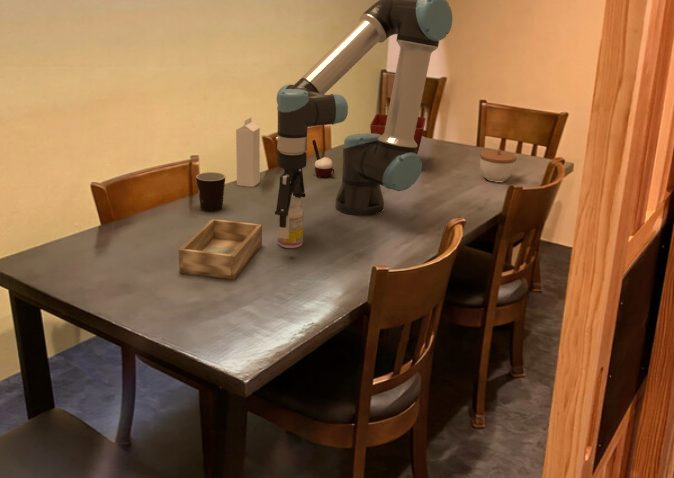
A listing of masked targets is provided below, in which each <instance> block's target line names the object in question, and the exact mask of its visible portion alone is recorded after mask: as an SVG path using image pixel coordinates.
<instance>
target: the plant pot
mask: <svg viewBox="0 0 674 478" xmlns="http://www.w3.org/2000/svg"><path fill="white" fill-rule="evenodd" d="M387 116H388V114H382V113H379V114H378V113H376V114H375V115H374V117H373V119H372V120H371V123H370V124H369V126H370V127H369V128H370V133H372V134H380V135H383V134H384V131H385V126H386V121H387ZM426 119H427V118H426V117H425V116H424V117H423V116H418V120H417V125H416V130H415V135H414V141H415V142H416V143H417V145H418V147H417V152H416V154H417V155H418V153H419V150H420V146H421V143H422V142H421V141H422V138H423V134H424V130H425V125H426V124H425V123H426Z"/></svg>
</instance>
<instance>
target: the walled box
mask: <svg viewBox="0 0 674 478" xmlns="http://www.w3.org/2000/svg"><path fill="white" fill-rule="evenodd" d="M261 247H263V224H260V223H254V222H253V223H251V222H243V221H242V222H241V221H233V220H225V219H216V218H211V219H210V220H209V221H208V222H206V224H204V225H203V226H202V227H201V228H200V229H199V230H198V231H197V232H196V233H195V234H194V235H193V236H192V237H190V238H189V239H188V240H187V241H186V242H185V243H184V244H183V245H182V246H181V247H179V249H178V266H179V267H178V268H179V273H181V274H187V275H194V276H204V277H211V278H218V279H219V278H220V279H226V280H234V281H235V280H236V279H237V278H238V276H239V275H240V274H241V273H242V272H243V270H244V269H245V268H246V266H247V265H248V264H249V262H251V260H252V259H253V257H254V256H255V255H256V254H257V253H258V251H259V249H261Z"/></svg>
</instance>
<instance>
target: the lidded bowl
mask: <svg viewBox="0 0 674 478" xmlns="http://www.w3.org/2000/svg"><path fill="white" fill-rule="evenodd" d="M516 161H517V156H516V154H513V153H512V152H508V151H504V150H503V151H502V149H497V150H484V151H482V152H480V155H479V170H480V173H481V175H482V176H483V177H484V179H485V178H486V179H489V180H493V181H504V180H505V181H506V180H507V179H509V178H511V176H512V175H513V172H514V170H515V167H516ZM486 179H485V180H486Z"/></svg>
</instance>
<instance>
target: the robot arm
mask: <svg viewBox="0 0 674 478" xmlns="http://www.w3.org/2000/svg"><path fill="white" fill-rule="evenodd" d="M452 26H453V11H452V8H451V6H450V4H449V2H448V1H447V0H377V1H376V2H375V3H373V4H372V5H371V6H370V7H369V8H368V9H367V10H366V11H364V12H363V13H362V14H361V15H360V17H359V22H358V23H357V24H356V25H355V26H354V27H353V28H352V29H351V30H350V31H349V32H348V33H347V34H346V35H345V36H344V37H342V39H341V40H339V41H338V42H337V43H336V44H335V45H334V46H333V47H332V48H331V49H330V50H329V51H328V52H327V53H326V54H325V55H324V56H323V57H322V58H321V59H319V61H317V63H316V64H314V65H313V66H312V67H311V68H310V69H309V70H308V71H307V72H306V73H305V74H304V75H303V76H302V77H301V78H300V79H299V80H297V82H295V84H286V85H283V86H281V87H280V89H278V92H277V95H276V103H277V106H276V107H277V109H276V110H277V136H276V137H275V141H277V146H276V147H277V150H278V151H277V153H276V165H277V167H279V168H280V169H283V170H284V171H283V173H282V175H280V176H279V187H278V195H277V200H276V201H277V202H276V209H275V211H274V215H276V216H278V217H277V218H278V221H277V239H278V238H284V239H288V238H289V214H288V212H289V207H290V202H291V197H297V198H299V199H300V205H299V207H300V208H302V209H303V198H306V193H305V185H304V184H305V183H304V174H303V173H304V172H303V169H304V168H306V167H307V150H308V129H309V128H311V127H318V126H328V125H333V126H334V125H336V124H339V123H342V122H345V120H346V119H347V117H348V113H349V105H348V101H347V100H346V98H345V97H344V96H343V94H340V93H339V94H334V93H330V94H327V92H328V91H329V90H330V89H332V88H333V87H334V86H335V84H337V82H338V81H339V80H340V79H342V78H343V77H344V76H345V75H346V74H347V73H348V72H349V71H350V70H351V69H352V68H353V67H354V66H355V65H356V64H357V63H358V62H359V61H361V59H362V58H363V57H364V56H366V55H367V53H369V52H370V51H371V50H372V49H373V48H374V47H375V46H376V45H377V44H378V43H381V44H382V43H383V42H385V41H386V40H387V39H389V37H391V36H393V35H396V40H395V41H396V43H397V44H398V46H399V55H398V59H397V64H396V70H395V75H394V80H393V86H392V89H391V90H392V91H391V96H390V101H389V107H388V111H387V115H388V116H387V121H386V126H385V131H384V134H383V135H380V134H372V133H371V132H370V133H353V134H350V135H347V136H345V138H344V140H343V147H342V170H341V171H342V177H341V184H340V187H339V190H338V192H337V195H336V197H335V209H336V210H338V211H339V212H341V213H343V214H344V213H345V214H347V215H353V216H372V214H373V215H377V214H380V213H382V212H383V211H384V210H383V209H385V207H384V206H385V201H384V195H383V193H382V189H381V186H383V187H384V188H386V189H388V190H394V191H396V192H401V191H407V190H408V189H410V188H411V187H412V186H413V185H414V184H415V183H416V182H417V181H418V179H419V178H420V175H421V173H422V170H423V169H422V168H423V163H422V161H421V157H420V156H419V155H418V154H416V152H417V147H418V145H417V143H416V142H415V141H414V135H415V130H416V125H417V120H418V117H419V115H420V111H421V110H420V109H421V105H422V100H423V95H424V91H425V85H426V80H427V75H428V71H429V66H430V61H431V60H430V59H431V55H432V53H433V52H435V51H436V50H438V49H439V46H440V45H439V44H440V41H441V40H443V39H445V38H446V37H447V35H449V34H450V31H451V30H452ZM283 210H284V211H283ZM382 210H383V211H382ZM381 211H382V212H381ZM379 212H380V213H379ZM376 213H377V214H376Z"/></svg>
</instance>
